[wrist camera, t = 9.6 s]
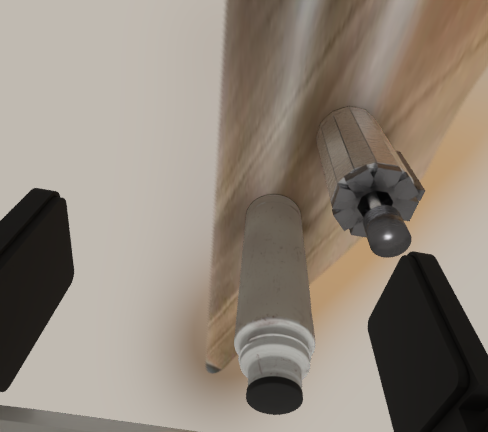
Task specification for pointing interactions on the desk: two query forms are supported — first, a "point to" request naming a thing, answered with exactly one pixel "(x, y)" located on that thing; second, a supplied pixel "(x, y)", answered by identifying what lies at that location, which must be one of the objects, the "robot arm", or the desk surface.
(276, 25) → the desk surface
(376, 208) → the plunger
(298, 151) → the desk surface
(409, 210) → the press pot
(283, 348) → the thermos bottle
